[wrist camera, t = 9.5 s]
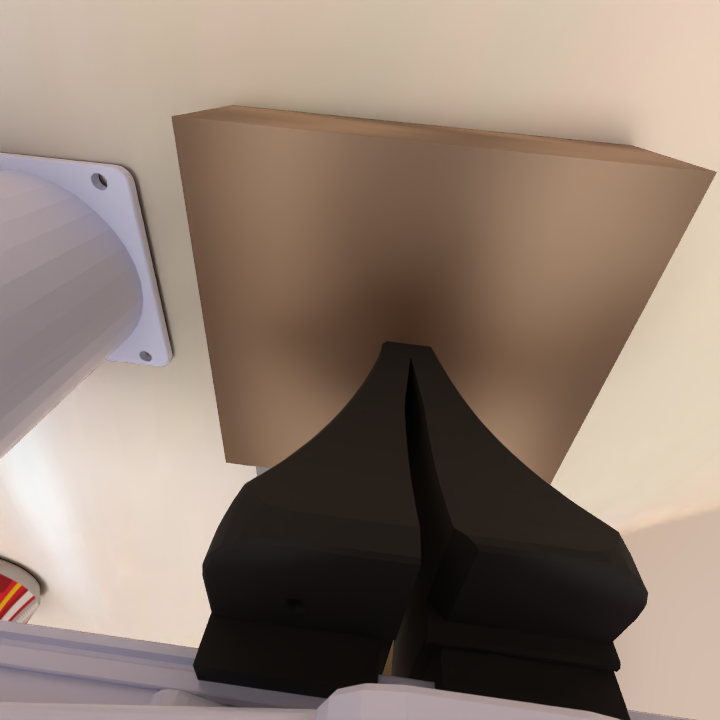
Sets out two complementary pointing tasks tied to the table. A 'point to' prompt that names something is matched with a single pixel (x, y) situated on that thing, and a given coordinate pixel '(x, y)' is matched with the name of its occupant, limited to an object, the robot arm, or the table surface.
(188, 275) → the table surface
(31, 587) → the soda can
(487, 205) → the block
